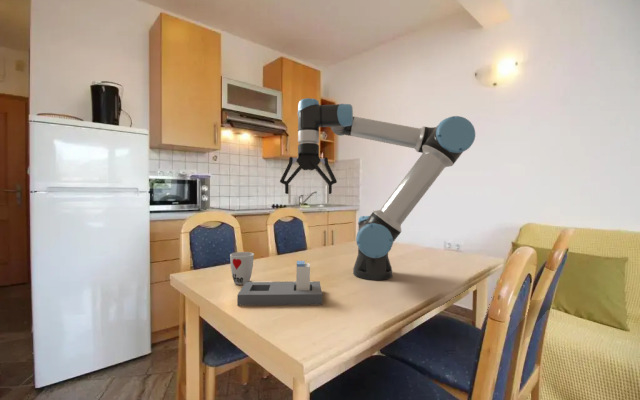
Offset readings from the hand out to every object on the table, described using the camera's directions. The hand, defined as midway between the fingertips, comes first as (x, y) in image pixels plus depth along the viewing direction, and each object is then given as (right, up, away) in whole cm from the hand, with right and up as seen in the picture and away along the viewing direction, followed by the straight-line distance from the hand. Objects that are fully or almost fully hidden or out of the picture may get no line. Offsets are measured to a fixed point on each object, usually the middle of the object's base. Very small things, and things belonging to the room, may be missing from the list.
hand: (308, 203), depth 105 cm
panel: (-8, -29, -16) cm, 33 cm away
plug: (-1, -29, -15) cm, 33 cm away
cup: (-23, -28, -2) cm, 37 cm away
